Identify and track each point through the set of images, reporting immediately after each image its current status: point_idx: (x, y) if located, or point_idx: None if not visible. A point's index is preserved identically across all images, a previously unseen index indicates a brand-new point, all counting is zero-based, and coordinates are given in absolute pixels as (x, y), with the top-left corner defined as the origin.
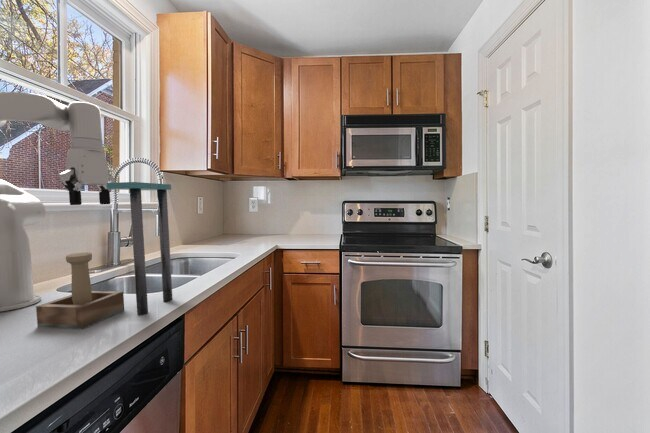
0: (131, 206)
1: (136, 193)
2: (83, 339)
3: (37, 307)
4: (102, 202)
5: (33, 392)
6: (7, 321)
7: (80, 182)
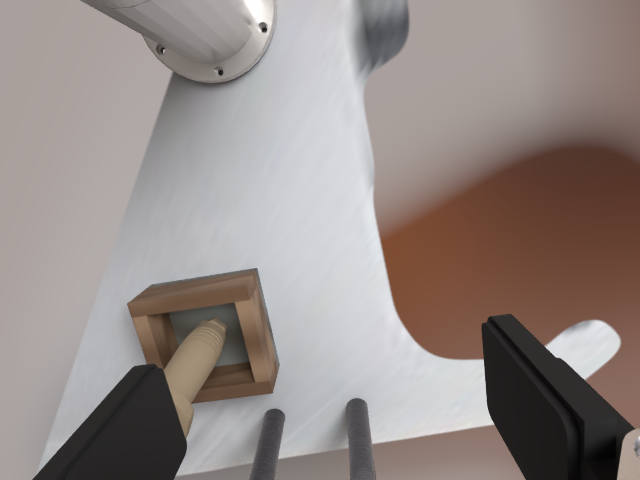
0: None
1: None
2: None
3: (130, 305)
4: (491, 361)
5: None
6: (142, 172)
7: None
